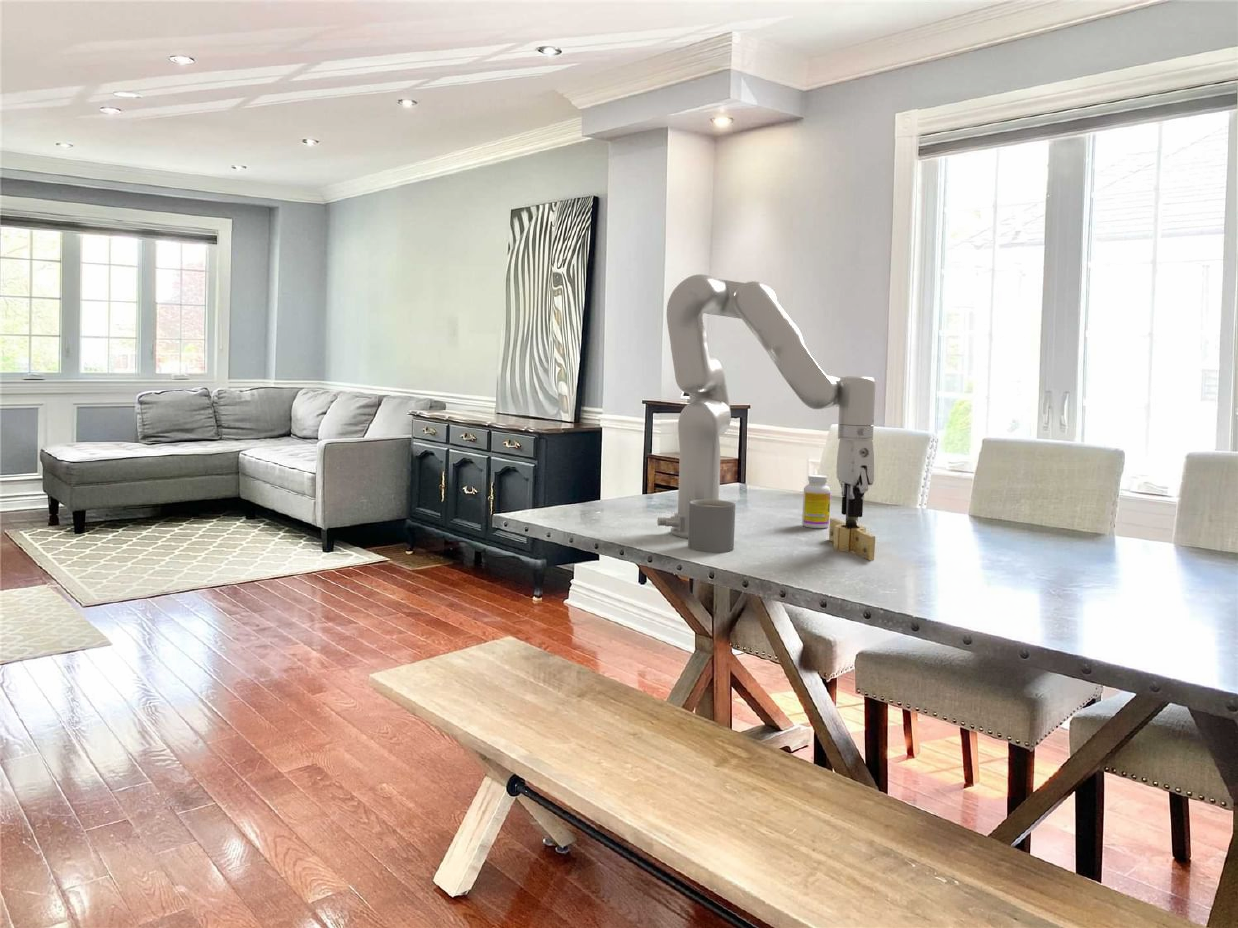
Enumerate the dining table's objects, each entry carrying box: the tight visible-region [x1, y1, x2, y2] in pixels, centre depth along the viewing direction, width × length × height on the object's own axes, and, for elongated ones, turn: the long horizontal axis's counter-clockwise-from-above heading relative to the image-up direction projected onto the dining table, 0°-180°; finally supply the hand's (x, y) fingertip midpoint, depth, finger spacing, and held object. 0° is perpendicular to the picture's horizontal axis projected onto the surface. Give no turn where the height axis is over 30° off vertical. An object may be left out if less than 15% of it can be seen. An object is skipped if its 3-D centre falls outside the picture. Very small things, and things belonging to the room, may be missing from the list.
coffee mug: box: [687, 499, 736, 554], centre depth 205 cm, size 13×10×10 cm
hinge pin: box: [845, 482, 860, 528], centre depth 206 cm, size 4×4×11 cm
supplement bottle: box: [801, 474, 832, 529], centre depth 233 cm, size 7×7×13 cm
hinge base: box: [833, 524, 876, 561], centre depth 203 cm, size 6×14×5 cm, turn 10°
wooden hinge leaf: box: [828, 517, 846, 543], centre depth 214 cm, size 7×2×5 cm, turn 9°
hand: (851, 514), depth 206 cm, fingers closed on hinge pin, 2 cm apart
